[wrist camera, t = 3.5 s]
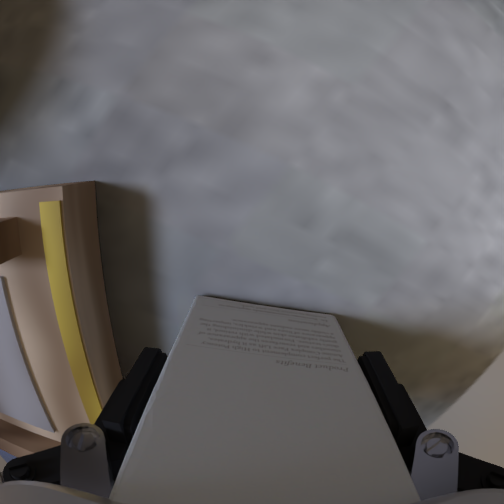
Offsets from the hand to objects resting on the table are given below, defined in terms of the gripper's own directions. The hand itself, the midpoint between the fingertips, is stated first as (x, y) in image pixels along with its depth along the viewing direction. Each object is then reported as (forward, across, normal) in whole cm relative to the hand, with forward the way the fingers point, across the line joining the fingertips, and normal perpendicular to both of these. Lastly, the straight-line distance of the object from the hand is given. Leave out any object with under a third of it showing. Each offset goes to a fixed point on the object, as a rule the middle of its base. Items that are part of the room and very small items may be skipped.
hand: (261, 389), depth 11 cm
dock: (+3, +15, +1) cm, 15 cm away
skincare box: (+3, 0, 0) cm, 3 cm away
